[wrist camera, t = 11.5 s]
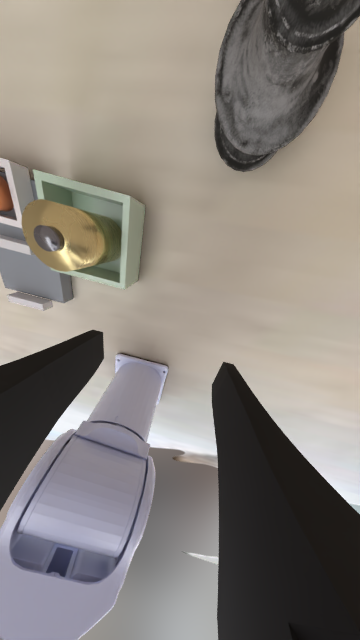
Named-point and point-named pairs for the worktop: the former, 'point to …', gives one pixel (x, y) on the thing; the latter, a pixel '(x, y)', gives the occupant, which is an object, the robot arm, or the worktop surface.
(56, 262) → the cell
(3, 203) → the orange rounded piece
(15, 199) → the grey slab
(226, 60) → the salt shaker
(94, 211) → the green open box
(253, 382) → the worktop surface
